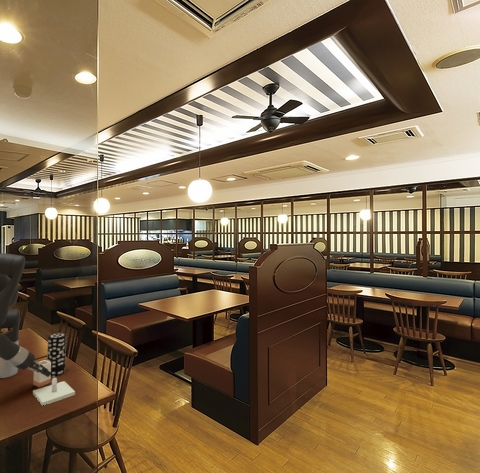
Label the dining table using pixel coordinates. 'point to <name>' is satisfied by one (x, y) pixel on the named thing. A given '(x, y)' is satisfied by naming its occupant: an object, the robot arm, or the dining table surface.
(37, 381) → the sleeve
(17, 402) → the dining table surface
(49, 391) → the pin board
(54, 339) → the spotted tube
